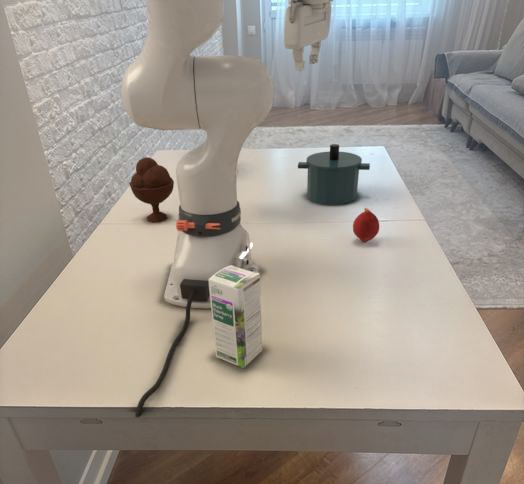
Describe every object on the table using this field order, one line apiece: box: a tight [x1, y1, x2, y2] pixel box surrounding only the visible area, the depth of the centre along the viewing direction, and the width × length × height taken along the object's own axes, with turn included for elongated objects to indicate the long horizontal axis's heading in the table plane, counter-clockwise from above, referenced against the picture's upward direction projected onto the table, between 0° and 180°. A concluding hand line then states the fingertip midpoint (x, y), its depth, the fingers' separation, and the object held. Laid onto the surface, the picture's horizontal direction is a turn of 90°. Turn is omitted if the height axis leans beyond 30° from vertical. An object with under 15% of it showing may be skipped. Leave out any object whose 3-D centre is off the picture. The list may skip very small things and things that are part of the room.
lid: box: [305, 143, 363, 170], centre depth 130 cm, size 15×15×5 cm
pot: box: [297, 161, 371, 206], centre depth 134 cm, size 14×19×10 cm
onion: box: [352, 207, 380, 243], centre depth 110 cm, size 6×6×8 cm
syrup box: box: [209, 265, 263, 369], centre depth 76 cm, size 6×6×14 cm
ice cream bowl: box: [128, 156, 175, 224], centre depth 123 cm, size 11×11×15 cm
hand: (306, 66), depth 114 cm, fingers open, 8 cm apart
